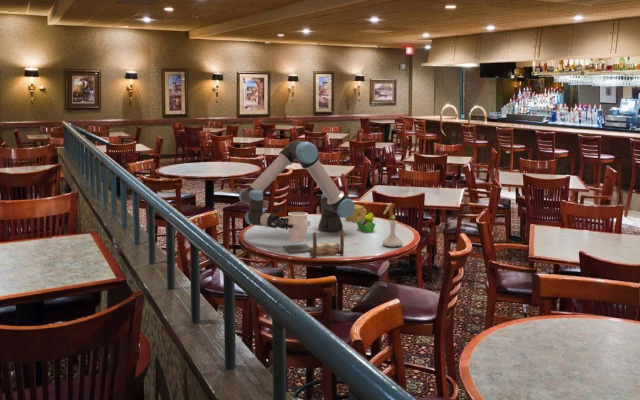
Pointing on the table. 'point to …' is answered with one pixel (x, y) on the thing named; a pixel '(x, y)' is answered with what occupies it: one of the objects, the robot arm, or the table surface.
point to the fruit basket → (367, 223)
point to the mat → (297, 248)
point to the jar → (303, 225)
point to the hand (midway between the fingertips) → (304, 225)
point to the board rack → (327, 247)
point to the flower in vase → (392, 238)
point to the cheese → (357, 214)
